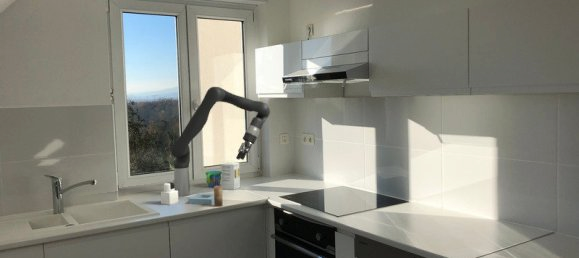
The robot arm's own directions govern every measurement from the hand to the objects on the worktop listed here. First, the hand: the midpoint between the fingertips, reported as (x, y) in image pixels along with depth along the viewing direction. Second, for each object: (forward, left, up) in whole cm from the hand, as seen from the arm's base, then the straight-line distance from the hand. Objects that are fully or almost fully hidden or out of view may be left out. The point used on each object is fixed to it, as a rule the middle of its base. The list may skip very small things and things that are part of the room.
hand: (239, 159), depth 286 cm
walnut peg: (-9, -12, -25) cm, 29 cm away
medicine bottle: (-40, -10, -25) cm, 48 cm away
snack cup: (-33, +41, -25) cm, 58 cm away
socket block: (-21, -3, -25) cm, 33 cm away
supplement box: (-19, +36, -25) cm, 48 cm away
